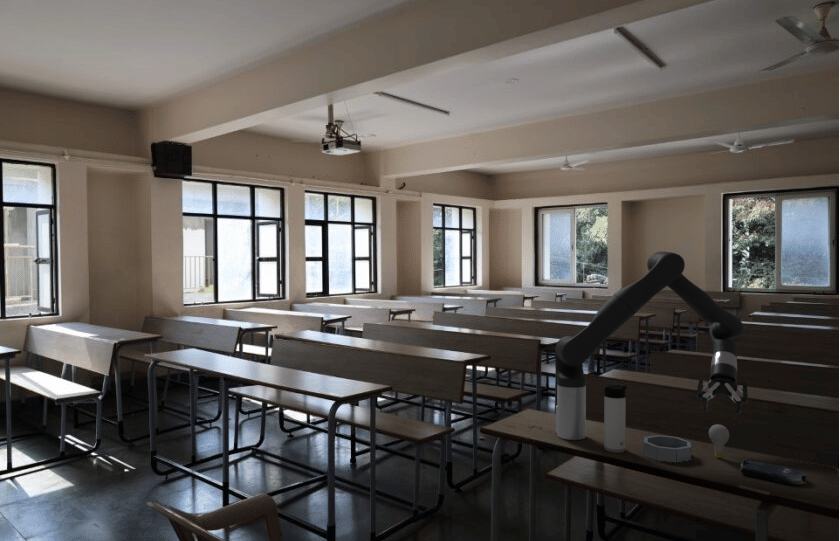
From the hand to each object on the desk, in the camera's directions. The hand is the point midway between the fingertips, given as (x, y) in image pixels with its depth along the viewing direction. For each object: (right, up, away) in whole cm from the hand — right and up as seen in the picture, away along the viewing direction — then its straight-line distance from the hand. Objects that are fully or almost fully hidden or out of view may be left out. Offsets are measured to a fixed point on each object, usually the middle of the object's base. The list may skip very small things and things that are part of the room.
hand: (720, 412), depth 186 cm
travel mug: (-32, -12, +2) cm, 34 cm away
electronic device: (+3, -13, -22) cm, 26 cm away
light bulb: (-4, -12, -6) cm, 14 cm away
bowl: (-18, -12, -3) cm, 22 cm away
